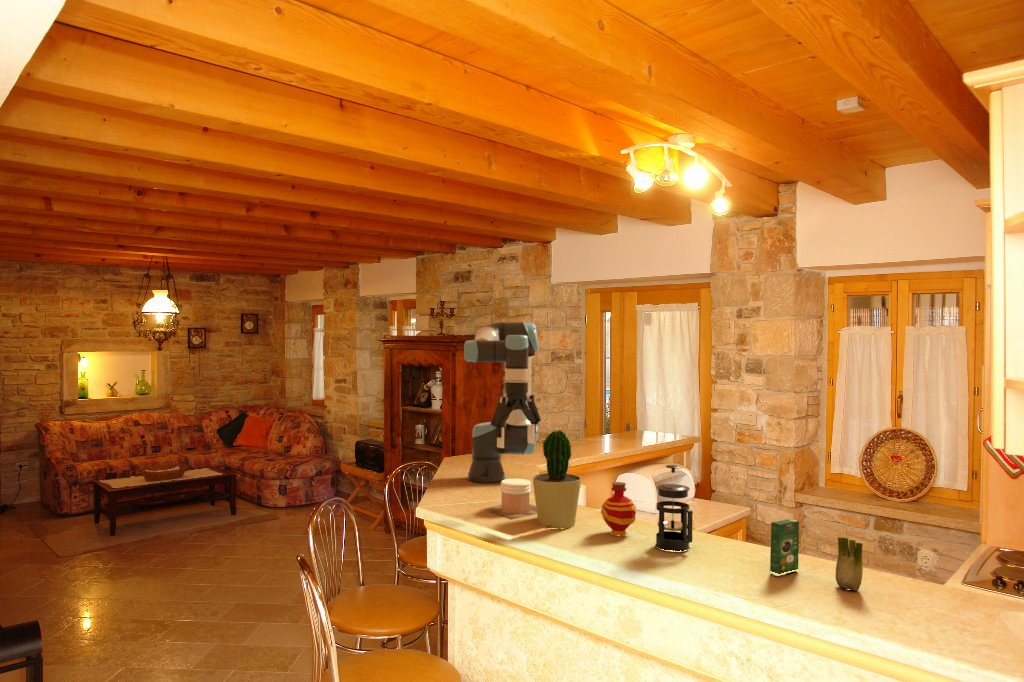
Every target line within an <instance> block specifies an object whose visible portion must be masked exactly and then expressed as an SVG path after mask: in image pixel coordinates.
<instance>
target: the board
mask: <svg viewBox="0 0 1024 682" xmlns="http://www.w3.org/2000/svg"><path fill="white" fill-rule="evenodd" d="M479 511H483V512H486V513H489V514H492V515H495V516H498V517H502V518H503V519H504V518H505V519H509V520H515V519H521V518H524V517H529V516H533V515H537V509H536V504H531V503H529V512H525V513H521V514H520V513H507V512H503V511H502V504H499V505H495V506H491V507H489V506H488V507H486V508H480V509H479Z"/></svg>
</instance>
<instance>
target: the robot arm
mask: <svg viewBox="0 0 1024 682" xmlns="http://www.w3.org/2000/svg"><path fill="white" fill-rule="evenodd" d="M537 334H538V333H537V327H536V324H534V323H533V322H524V321H520V322H519V321H518V322H517V321H516V322H513V321H512V322H511V321H510V322H504V321H503V322H502V321H500V322H492V323H489V324H486V325H484V326H482V327H480V328H479V329H478V330H477V332H476V333H475V335H474V339H472V340H466V341H465V342H464V346H463V347H464V349H463V356H464V358H463V359H464V360H465V362H469V363H505V371H504V372H505V373H504V375H505V376H504V379H505V381H506V382H505V384H504V385H505V386H504V388H505V390H504V391H505V394H506V397H505V396H498V399H497V406H496V408H495V411H494V413H493V416H492V418H491V421H488V422H487V421H486V422H481V423H477V424H475V425H474V426H473V427H472V435H471V437H472V449H471V450H472V451H471V457H472V459H471V464H470V466H469V467H470V468H469V470H468V473H467V481H469V480H470V482H472V481H474V482H473V483H479V482H480V483H482V484H486V483H487V484H489V483H490V482H494V483H499V481H500V482H501V481H502V480H505V477H506V475H505V471H504V468H503V464H502V461H501V459H502V457H501V455H532V454H534V453H535V450H536V446H537V445H536V444H537V439H538V432H539V431H538V430H539V427H538V424H539V423H540V422H541V420H542V419H541V417H540V414H539V411H538V408H537V405H536V402H535V396H534V395H532V359H533V358H535V356H536V352H539V343H538V342H539V341H538V335H537ZM504 424H505V425H504Z"/></svg>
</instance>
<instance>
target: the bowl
mask: <svg viewBox="0 0 1024 682" xmlns="http://www.w3.org/2000/svg"><path fill="white" fill-rule="evenodd" d="M530 493H531V491H530V492H529V493H527V494H522V495H510V494H505V493H502V492H501V505H502V511H503V512H507V513H520V514H521V513H525V512H529V504H530Z"/></svg>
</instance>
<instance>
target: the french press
mask: <svg viewBox="0 0 1024 682" xmlns="http://www.w3.org/2000/svg"><path fill="white" fill-rule="evenodd" d="M665 468H667V469H671V471H670V472H671V475H672V483H664V484H663V483H662V484H661V483H660V484H658V485H656V489H657V494H658V496H660V497H661V498H662V497H663V498H667V499H672V500H662V501H658V502H657V503H656V505H655V506H656V510H657V511H658V522H657V527H658V532H657V533H656V535H655V537H656V538H655V546H656V547H658V548H660V549H664V550H673V551H674V550H675V551H680V550H681V551H684V550H688V549H691V547H690V543H693V525H694V524H693V519H694V518H693V509H690V504H688V503H686V502H682V501H676V500H674V499H684V498H688V497H689V496H688V495H689V491H690V487H689V486H687V485H683V484H674V483H675V482H674V481H675V480H674V479H675V478H674V477H675V472H676V471H675V470H677V469H681V468H682V467H681V466H680V465H677V464H666V465H665ZM665 506H666V507H665ZM668 506H671V508H670V507H668ZM674 507H680V508H674ZM665 513H666V514H671V520H665ZM674 514H679V515H680V521H677V520H674ZM665 530H666V531H665ZM656 547H655V548H656Z"/></svg>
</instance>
